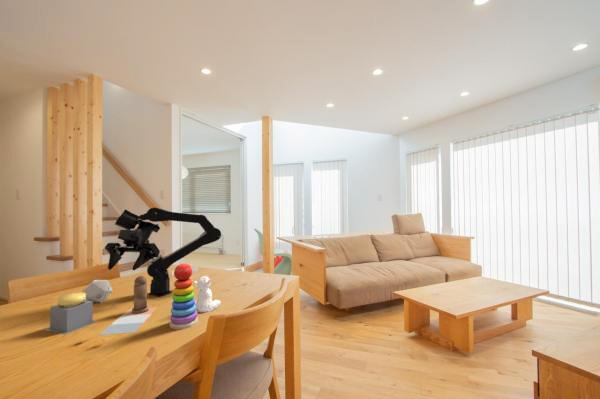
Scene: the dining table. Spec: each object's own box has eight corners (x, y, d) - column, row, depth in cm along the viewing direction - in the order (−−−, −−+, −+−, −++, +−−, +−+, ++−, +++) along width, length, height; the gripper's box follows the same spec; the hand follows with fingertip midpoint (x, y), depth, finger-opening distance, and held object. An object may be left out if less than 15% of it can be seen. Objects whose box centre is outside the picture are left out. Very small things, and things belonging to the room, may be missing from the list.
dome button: (75, 315, 85) (76, 291, 85) (90, 318, 83) (91, 293, 83) (51, 324, 79) (52, 298, 79) (67, 327, 77) (67, 300, 77)
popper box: (77, 320, 87) (77, 297, 87) (98, 323, 84) (98, 300, 84) (43, 332, 78) (43, 308, 78) (65, 337, 75) (65, 311, 76)
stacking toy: (175, 320, 86) (175, 261, 87) (201, 319, 87) (201, 260, 87) (164, 332, 78) (165, 266, 79) (193, 331, 79) (194, 266, 79)
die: (88, 308, 98) (108, 284, 101) (71, 295, 100) (92, 272, 103) (103, 309, 106) (121, 286, 109) (87, 296, 107) (106, 275, 110)
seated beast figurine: (221, 305, 100) (221, 272, 100) (218, 314, 91) (218, 278, 92) (193, 306, 98) (193, 273, 98) (188, 316, 90) (188, 279, 90)
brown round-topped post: (142, 307, 95) (142, 273, 95) (151, 309, 93) (151, 275, 93) (128, 312, 91) (128, 277, 91) (138, 314, 89) (138, 278, 89)
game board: (129, 310, 94) (129, 308, 94) (157, 309, 96) (157, 306, 96) (98, 337, 75) (98, 334, 75) (134, 335, 77) (134, 332, 77)
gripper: (108, 221, 104) (82, 255, 92) (155, 221, 102) (135, 256, 91) (123, 239, 111) (101, 273, 100) (167, 240, 110) (149, 274, 99)
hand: (121, 269), depth 97 cm, fingers open, 9 cm apart
